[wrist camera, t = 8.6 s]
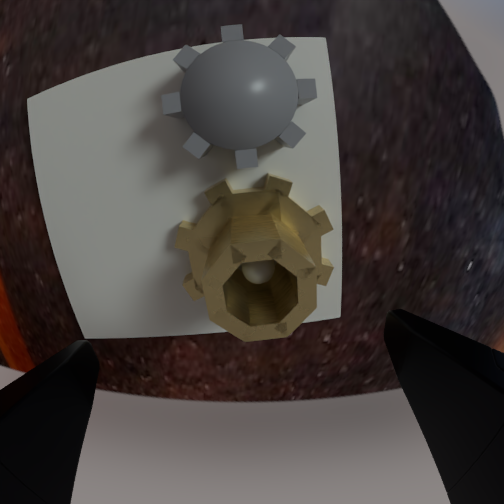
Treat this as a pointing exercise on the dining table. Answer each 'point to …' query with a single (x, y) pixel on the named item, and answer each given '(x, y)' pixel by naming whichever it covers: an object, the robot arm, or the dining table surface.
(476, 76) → the dining table surface
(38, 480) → the robot arm
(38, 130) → the carrier
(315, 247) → the gear
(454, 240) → the dining table surface
